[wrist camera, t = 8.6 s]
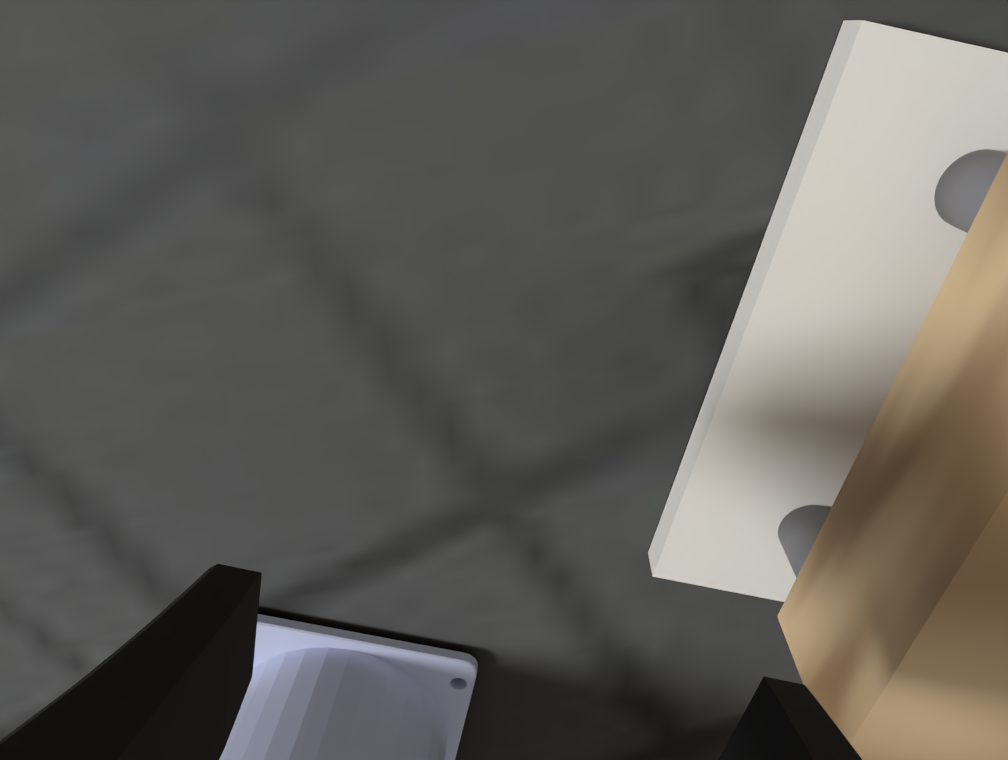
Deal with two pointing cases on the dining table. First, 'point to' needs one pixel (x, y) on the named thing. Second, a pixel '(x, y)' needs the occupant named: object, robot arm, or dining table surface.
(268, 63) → the dining table surface
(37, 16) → the dining table surface
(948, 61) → the peg stand
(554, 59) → the dining table surface
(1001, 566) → the tan rectangular block
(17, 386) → the dining table surface
